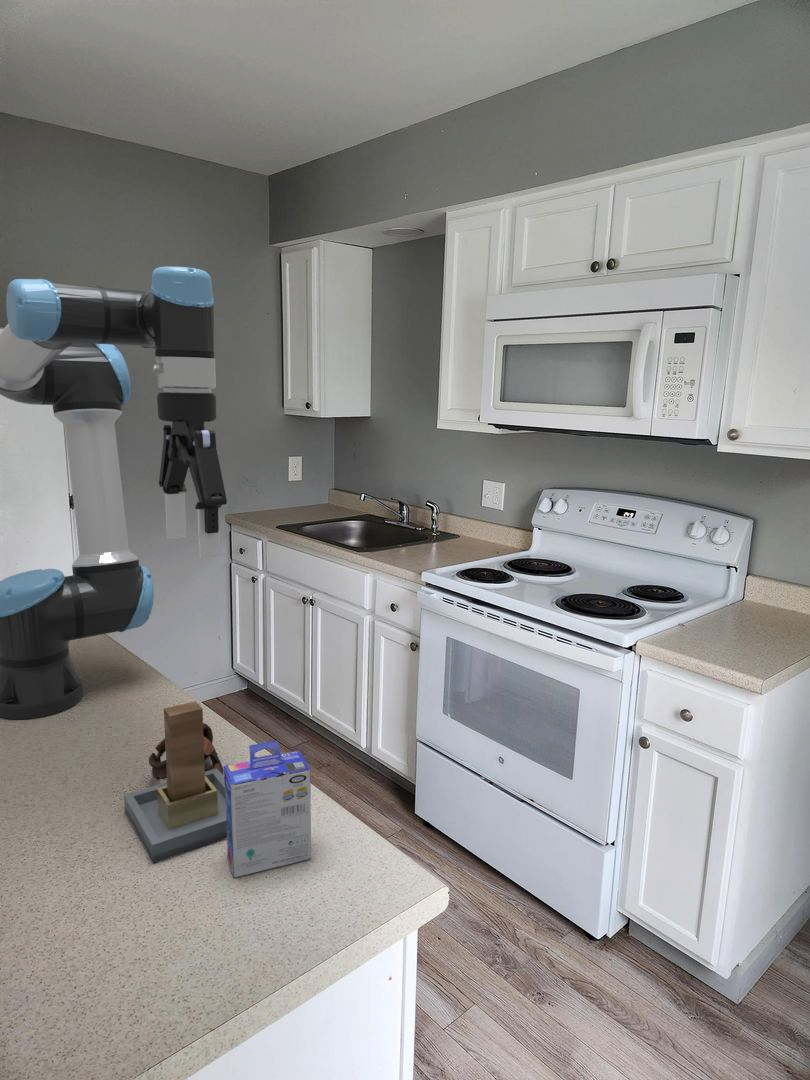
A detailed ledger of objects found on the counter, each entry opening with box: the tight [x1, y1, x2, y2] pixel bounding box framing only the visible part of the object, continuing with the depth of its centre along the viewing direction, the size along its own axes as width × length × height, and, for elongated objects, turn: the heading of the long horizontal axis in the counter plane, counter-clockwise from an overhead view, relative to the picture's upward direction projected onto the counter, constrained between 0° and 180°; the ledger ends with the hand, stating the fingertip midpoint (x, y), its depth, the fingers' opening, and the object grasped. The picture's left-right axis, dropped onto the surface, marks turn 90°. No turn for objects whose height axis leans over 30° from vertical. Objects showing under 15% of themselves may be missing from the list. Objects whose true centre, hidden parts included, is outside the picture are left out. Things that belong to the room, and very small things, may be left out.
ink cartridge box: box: [223, 740, 312, 878], centre depth 89 cm, size 10×6×14 cm, turn 114°
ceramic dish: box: [123, 768, 227, 864], centre depth 97 cm, size 13×13×2 cm
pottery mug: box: [148, 722, 224, 781], centre depth 108 cm, size 12×10×8 cm
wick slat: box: [163, 700, 206, 802], centre depth 96 cm, size 3×4×15 cm, turn 125°
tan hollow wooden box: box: [157, 776, 218, 830], centre depth 97 cm, size 5×6×4 cm
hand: (192, 546), depth 102 cm, fingers open, 13 cm apart
